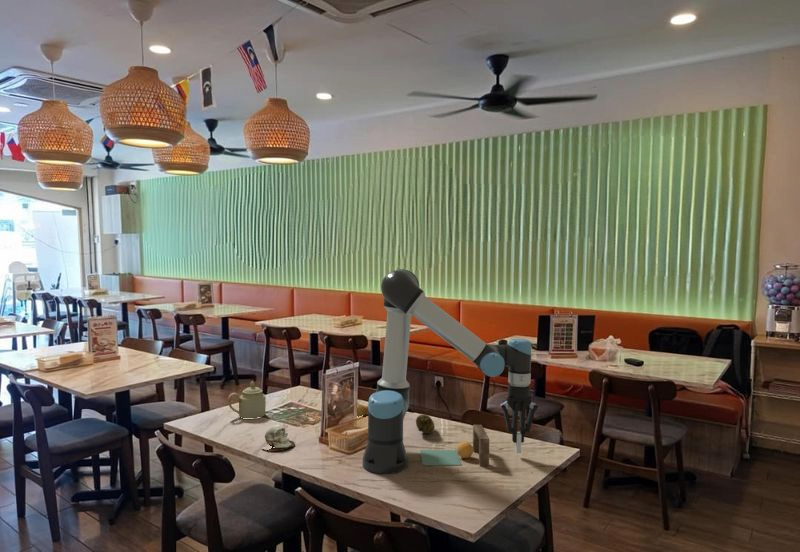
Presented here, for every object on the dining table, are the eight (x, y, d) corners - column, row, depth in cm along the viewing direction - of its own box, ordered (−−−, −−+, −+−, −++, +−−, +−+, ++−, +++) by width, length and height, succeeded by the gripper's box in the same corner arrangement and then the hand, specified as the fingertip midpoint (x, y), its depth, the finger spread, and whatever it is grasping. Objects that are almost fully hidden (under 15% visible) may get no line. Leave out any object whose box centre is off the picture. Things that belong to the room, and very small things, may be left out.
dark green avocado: (442, 430, 210) (442, 410, 209) (428, 439, 199) (428, 419, 198) (423, 426, 214) (423, 407, 213) (408, 436, 202) (408, 415, 202)
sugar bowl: (245, 423, 215) (245, 387, 214) (226, 419, 220) (226, 383, 219) (271, 414, 228) (271, 380, 227) (252, 410, 233) (252, 376, 232)
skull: (303, 441, 193) (290, 426, 186) (287, 466, 187) (272, 451, 181) (281, 433, 200) (267, 418, 194) (265, 457, 194) (250, 442, 188)
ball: (467, 464, 179) (455, 454, 178) (465, 457, 184) (452, 448, 184) (477, 451, 179) (464, 441, 178) (474, 445, 184) (462, 436, 184)
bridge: (479, 466, 174) (480, 438, 174) (472, 449, 189) (473, 424, 188) (488, 466, 174) (489, 438, 174) (480, 449, 189) (481, 424, 189)
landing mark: (422, 465, 175) (422, 464, 175) (420, 450, 188) (420, 450, 188) (461, 465, 175) (461, 464, 175) (456, 450, 188) (456, 450, 188)
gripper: (503, 386, 177) (501, 455, 178) (541, 387, 177) (539, 455, 178) (498, 381, 185) (496, 447, 185) (534, 381, 185) (533, 447, 186)
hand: (517, 451), depth 182 cm, fingers closed
